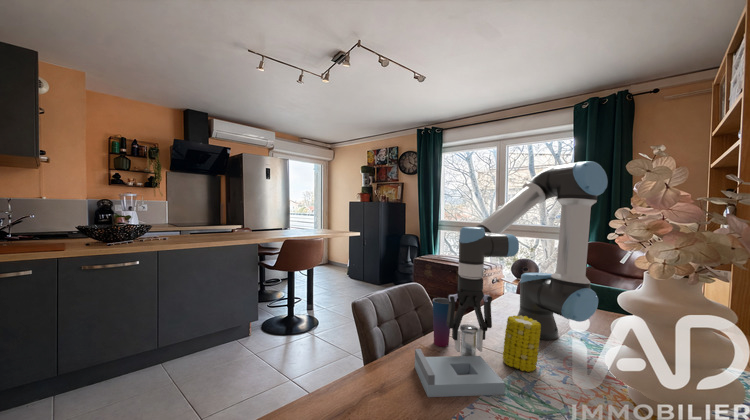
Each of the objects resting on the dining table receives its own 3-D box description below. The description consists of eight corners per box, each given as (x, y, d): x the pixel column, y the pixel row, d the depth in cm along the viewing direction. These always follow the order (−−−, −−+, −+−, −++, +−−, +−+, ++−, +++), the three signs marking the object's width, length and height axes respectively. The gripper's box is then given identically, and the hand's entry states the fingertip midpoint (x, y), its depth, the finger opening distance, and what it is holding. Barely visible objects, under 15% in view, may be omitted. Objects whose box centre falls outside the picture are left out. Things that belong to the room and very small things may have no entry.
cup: (451, 349, 100) (453, 304, 100) (431, 346, 101) (432, 302, 101) (450, 340, 107) (452, 298, 107) (431, 338, 108) (432, 297, 108)
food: (496, 364, 94) (525, 364, 96) (520, 375, 83) (553, 375, 84) (494, 313, 98) (522, 314, 99) (516, 317, 86) (548, 318, 88)
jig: (479, 365, 90) (480, 347, 90) (504, 394, 76) (505, 373, 76) (414, 367, 88) (415, 348, 88) (427, 397, 74) (428, 375, 74)
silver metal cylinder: (472, 355, 96) (473, 324, 96) (479, 363, 91) (480, 330, 91) (456, 355, 96) (457, 324, 96) (463, 363, 91) (464, 330, 91)
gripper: (494, 274, 98) (492, 344, 98) (436, 273, 96) (434, 344, 96) (506, 279, 91) (504, 355, 91) (444, 278, 89) (442, 356, 89)
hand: (468, 349), depth 94 cm, fingers open, 6 cm apart
